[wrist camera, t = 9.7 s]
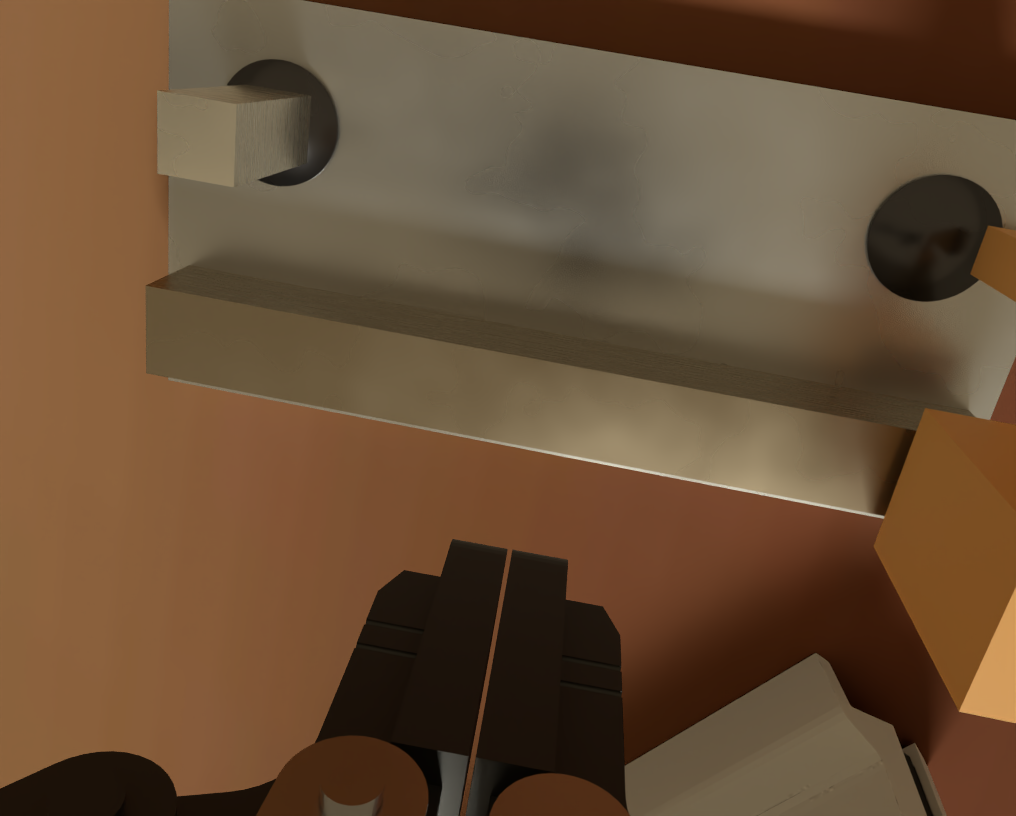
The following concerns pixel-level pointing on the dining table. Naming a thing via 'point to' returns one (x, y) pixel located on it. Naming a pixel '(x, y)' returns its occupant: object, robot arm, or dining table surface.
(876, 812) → the hinge
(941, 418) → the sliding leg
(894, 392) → the grey piece
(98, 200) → the dining table surface
